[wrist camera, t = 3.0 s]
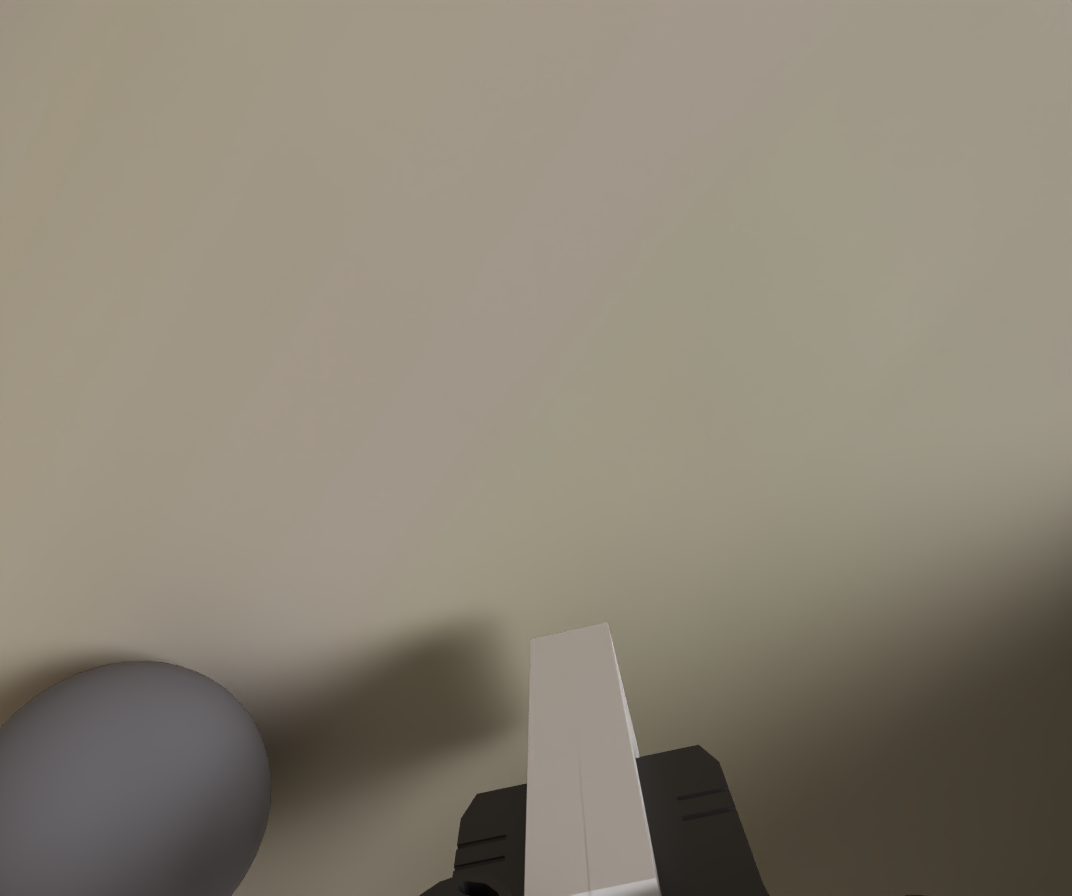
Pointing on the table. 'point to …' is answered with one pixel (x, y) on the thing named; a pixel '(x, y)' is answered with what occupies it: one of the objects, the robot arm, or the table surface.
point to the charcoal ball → (131, 786)
